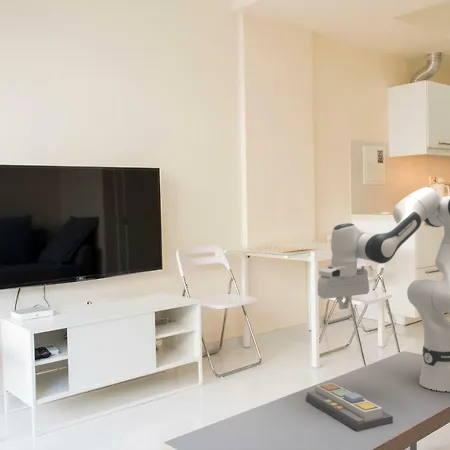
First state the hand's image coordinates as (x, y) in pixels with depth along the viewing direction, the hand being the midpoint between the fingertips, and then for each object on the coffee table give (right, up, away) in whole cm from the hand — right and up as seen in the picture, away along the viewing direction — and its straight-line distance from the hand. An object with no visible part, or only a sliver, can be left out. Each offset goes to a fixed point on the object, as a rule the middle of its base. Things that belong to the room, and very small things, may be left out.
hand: (343, 308), depth 191 cm
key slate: (0, -28, -15) cm, 32 cm away
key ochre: (+2, -30, -21) cm, 36 cm away
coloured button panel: (-2, -32, -12) cm, 34 cm away
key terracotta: (-6, -29, -4) cm, 30 cm away
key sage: (-3, -29, -10) cm, 31 cm away
